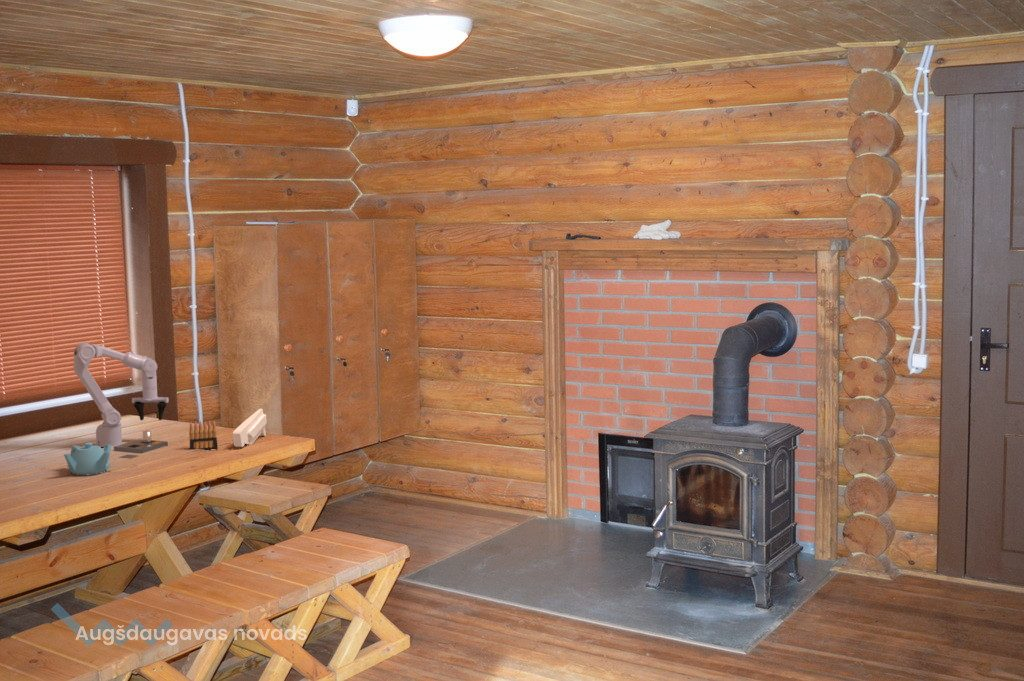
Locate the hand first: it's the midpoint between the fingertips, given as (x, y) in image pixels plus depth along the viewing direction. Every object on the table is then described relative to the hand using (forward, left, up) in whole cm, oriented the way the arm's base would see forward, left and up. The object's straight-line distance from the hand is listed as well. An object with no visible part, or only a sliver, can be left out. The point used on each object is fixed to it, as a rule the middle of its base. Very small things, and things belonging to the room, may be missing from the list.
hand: (151, 419), depth 435 cm
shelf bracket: (+40, +13, -10) cm, 43 cm away
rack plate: (+6, -14, -9) cm, 18 cm away
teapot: (+12, -49, -10) cm, 51 cm away
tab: (+12, -28, -9) cm, 32 cm away
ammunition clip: (+30, -6, -10) cm, 32 cm away
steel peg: (+6, -10, -9) cm, 15 cm away
